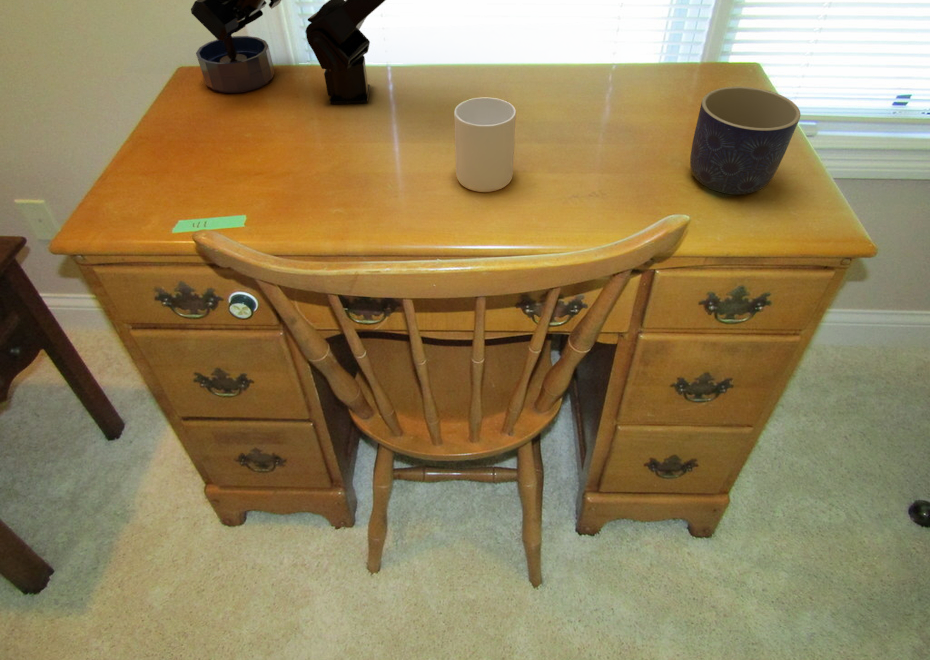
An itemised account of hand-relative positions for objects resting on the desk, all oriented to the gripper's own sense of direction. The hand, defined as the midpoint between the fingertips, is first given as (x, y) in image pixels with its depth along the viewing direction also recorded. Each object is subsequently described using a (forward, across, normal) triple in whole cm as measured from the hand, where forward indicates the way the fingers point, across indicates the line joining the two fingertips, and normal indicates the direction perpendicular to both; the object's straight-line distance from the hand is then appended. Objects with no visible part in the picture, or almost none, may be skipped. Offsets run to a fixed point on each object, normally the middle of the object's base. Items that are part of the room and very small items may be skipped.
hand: (220, 35), depth 111 cm
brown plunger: (+4, 0, +6) cm, 7 cm away
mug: (-32, +16, +44) cm, 57 cm away
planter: (-56, +8, +68) cm, 89 cm away
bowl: (+4, 0, +7) cm, 8 cm away
